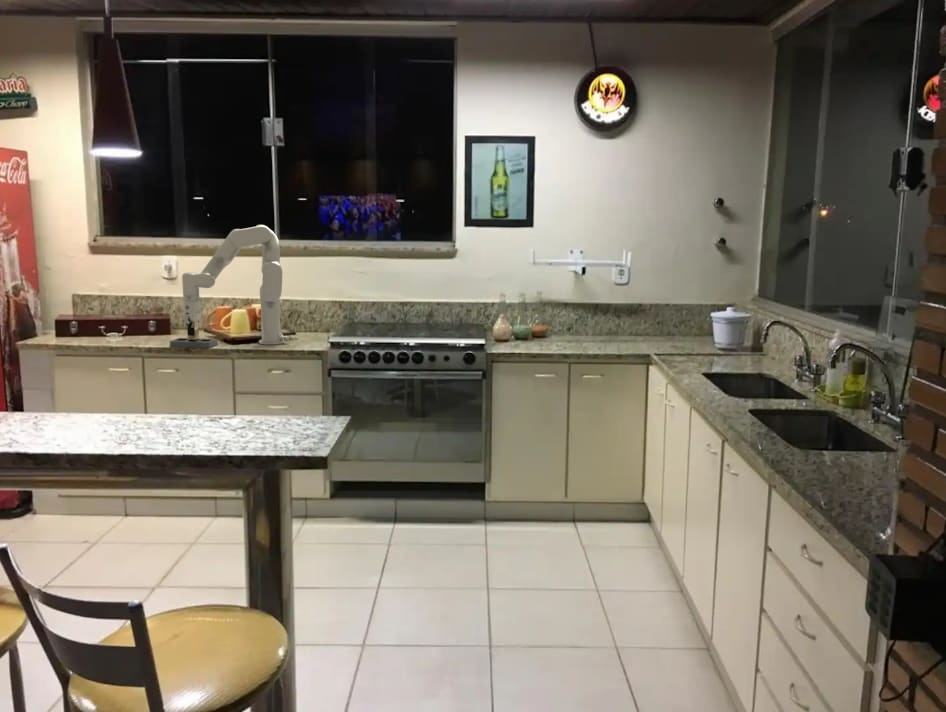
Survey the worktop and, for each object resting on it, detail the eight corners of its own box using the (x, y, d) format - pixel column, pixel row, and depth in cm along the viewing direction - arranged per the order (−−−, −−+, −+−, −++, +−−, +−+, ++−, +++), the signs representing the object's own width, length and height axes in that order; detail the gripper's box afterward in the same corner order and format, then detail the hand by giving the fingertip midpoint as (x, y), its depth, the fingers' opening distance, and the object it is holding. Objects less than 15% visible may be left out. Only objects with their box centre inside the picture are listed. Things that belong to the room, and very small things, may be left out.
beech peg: (198, 338, 384) (198, 318, 383) (195, 339, 381) (194, 319, 379) (191, 338, 385) (190, 318, 383) (187, 339, 381) (186, 319, 379)
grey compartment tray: (217, 344, 388) (217, 338, 387) (209, 348, 378) (209, 342, 377) (179, 343, 389) (179, 337, 389) (170, 347, 379) (169, 341, 379)
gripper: (191, 300, 370) (193, 337, 374) (206, 296, 387) (207, 332, 390) (176, 299, 371) (178, 337, 374) (191, 295, 387) (193, 331, 391)
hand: (193, 334), depth 382 cm, fingers closed on beech peg, 4 cm apart
